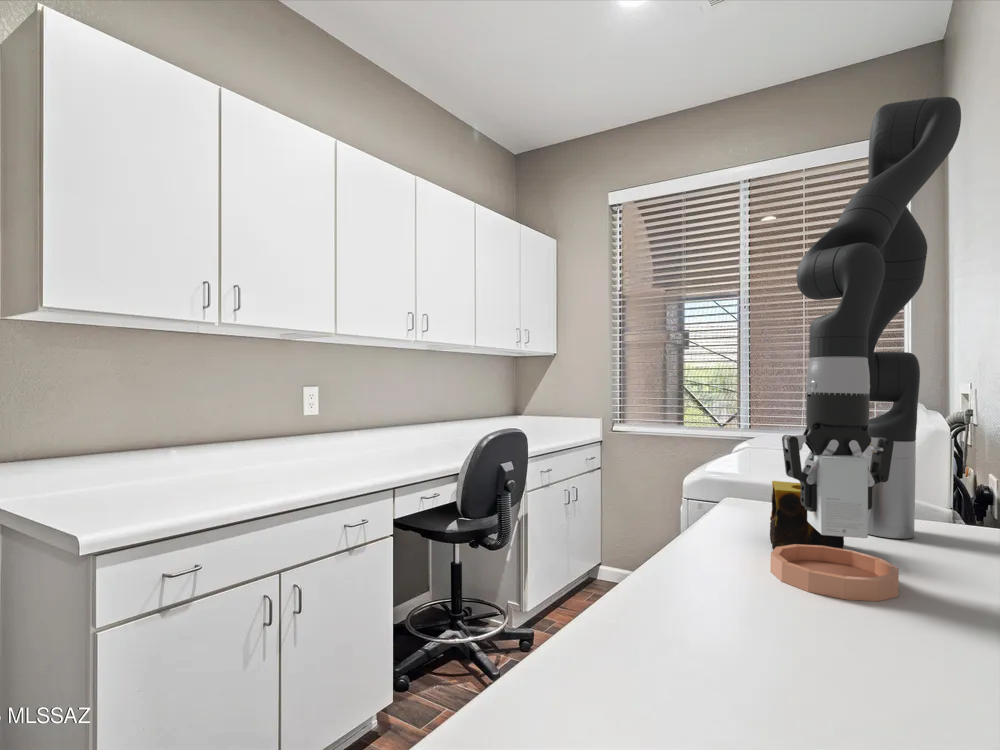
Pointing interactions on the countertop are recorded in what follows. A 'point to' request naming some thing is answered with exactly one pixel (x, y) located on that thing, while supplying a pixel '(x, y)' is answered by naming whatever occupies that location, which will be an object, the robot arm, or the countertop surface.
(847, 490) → the small box
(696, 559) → the countertop surface
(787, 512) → the yellow and black cube
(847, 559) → the round tray
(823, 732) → the countertop surface
